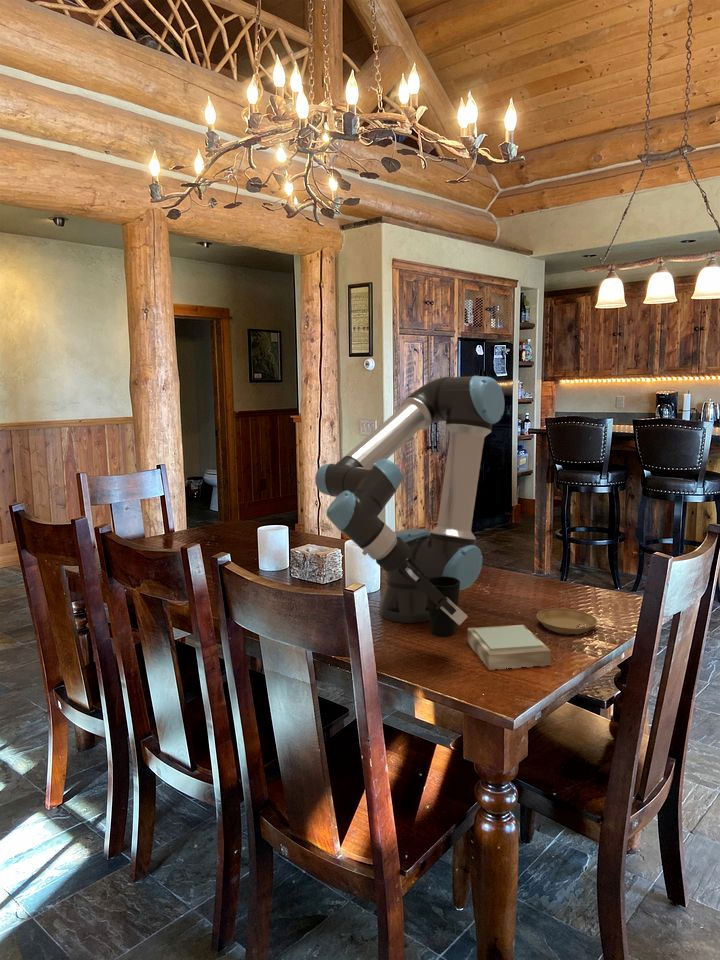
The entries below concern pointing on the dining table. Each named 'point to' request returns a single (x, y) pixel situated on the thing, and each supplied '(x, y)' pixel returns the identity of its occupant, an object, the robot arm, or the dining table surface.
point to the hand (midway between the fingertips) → (457, 613)
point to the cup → (438, 618)
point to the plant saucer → (566, 620)
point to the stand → (508, 647)
